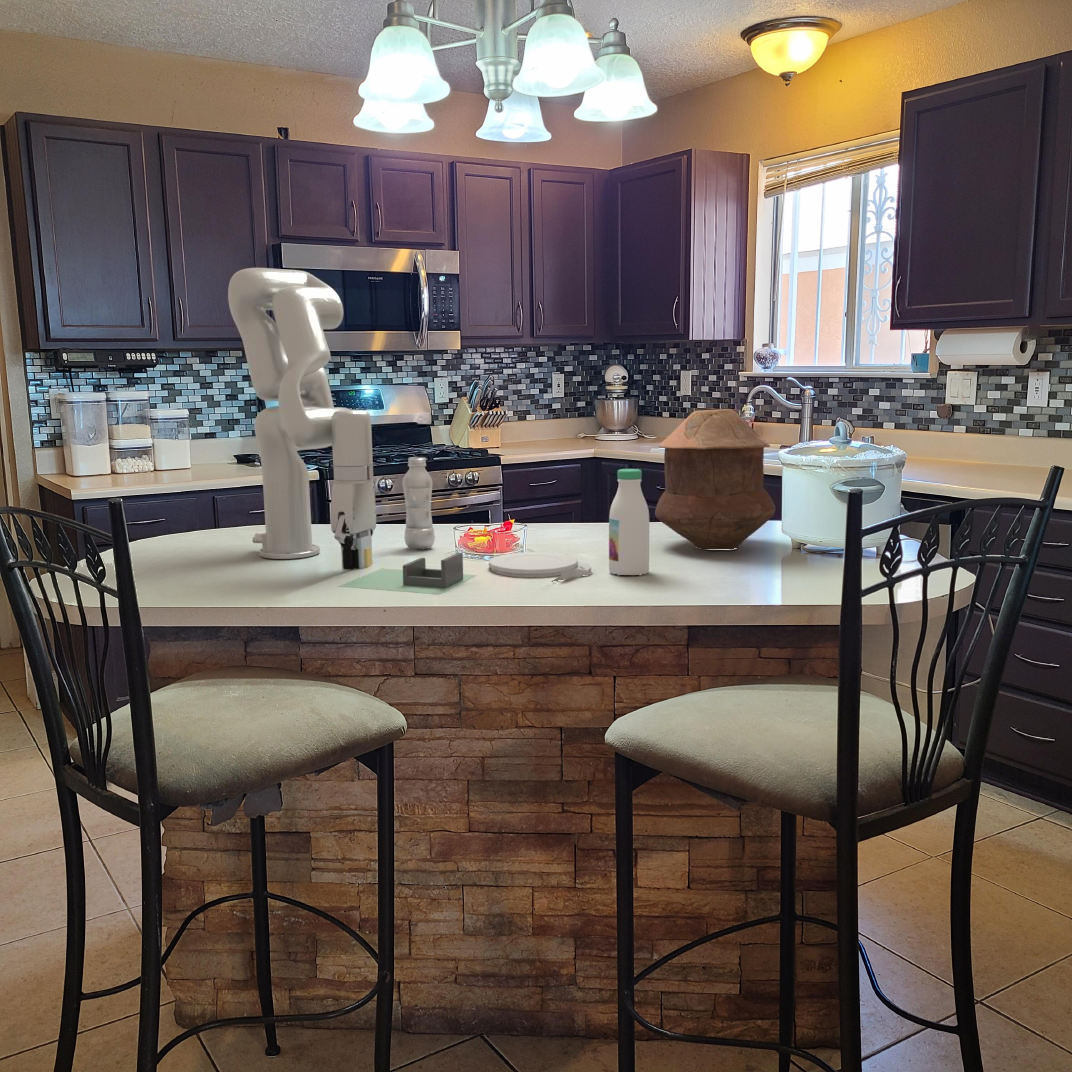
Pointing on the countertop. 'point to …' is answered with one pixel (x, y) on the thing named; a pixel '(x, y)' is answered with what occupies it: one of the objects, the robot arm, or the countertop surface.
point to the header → (434, 573)
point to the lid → (539, 565)
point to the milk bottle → (629, 526)
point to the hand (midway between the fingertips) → (357, 565)
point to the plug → (362, 550)
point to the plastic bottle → (418, 505)
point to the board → (395, 582)
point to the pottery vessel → (714, 480)
